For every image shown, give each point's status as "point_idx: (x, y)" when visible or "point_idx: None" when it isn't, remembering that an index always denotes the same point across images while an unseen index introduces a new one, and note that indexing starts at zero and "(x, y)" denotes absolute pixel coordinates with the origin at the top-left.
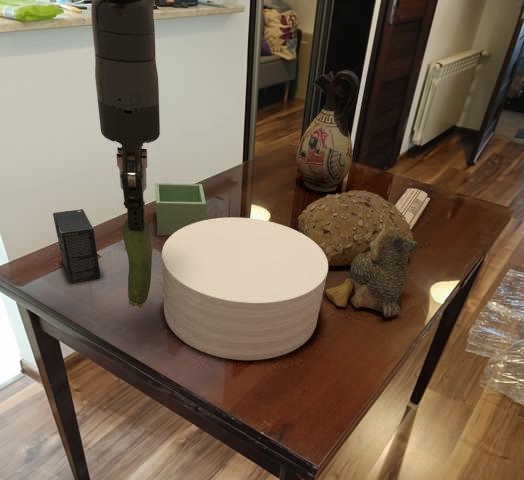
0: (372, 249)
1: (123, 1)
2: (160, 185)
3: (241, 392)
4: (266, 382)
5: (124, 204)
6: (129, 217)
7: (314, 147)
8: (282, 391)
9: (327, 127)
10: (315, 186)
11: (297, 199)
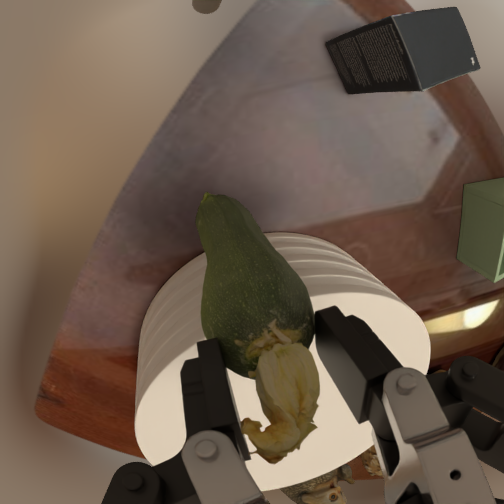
0: (314, 499)
1: None
2: None
3: (83, 366)
4: (111, 389)
5: (124, 481)
6: (202, 388)
7: None
8: (104, 401)
9: None
10: (500, 357)
11: (491, 343)
